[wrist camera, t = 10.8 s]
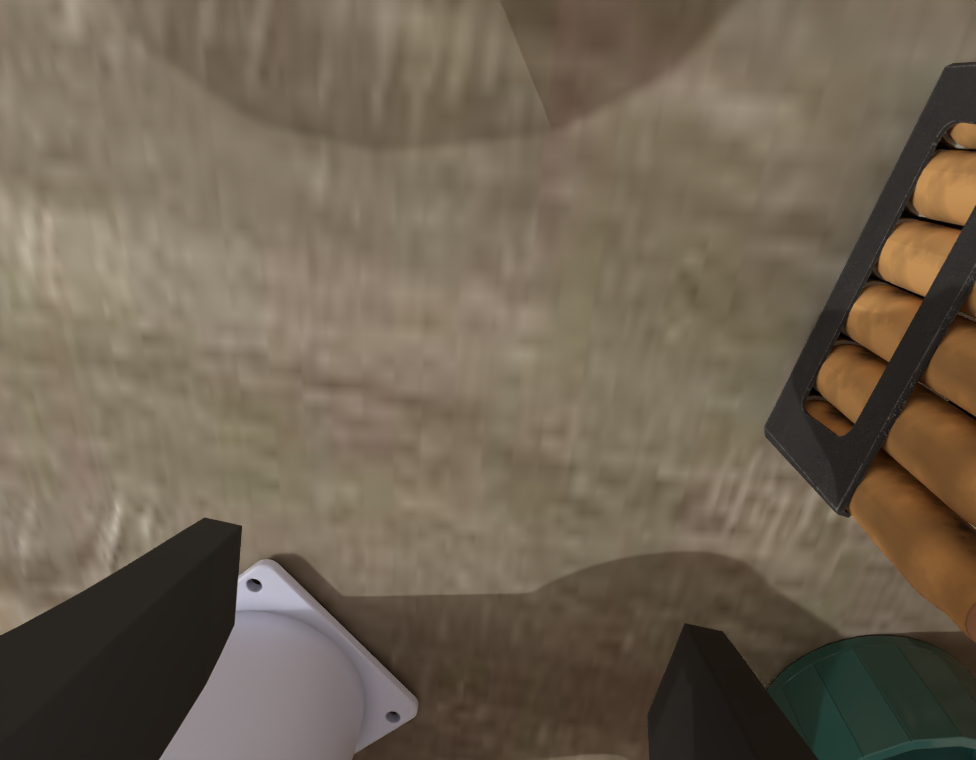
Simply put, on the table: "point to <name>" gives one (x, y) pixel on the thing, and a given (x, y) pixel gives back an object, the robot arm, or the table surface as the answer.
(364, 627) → the table surface
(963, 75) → the ammunition clip
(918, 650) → the pen cup
